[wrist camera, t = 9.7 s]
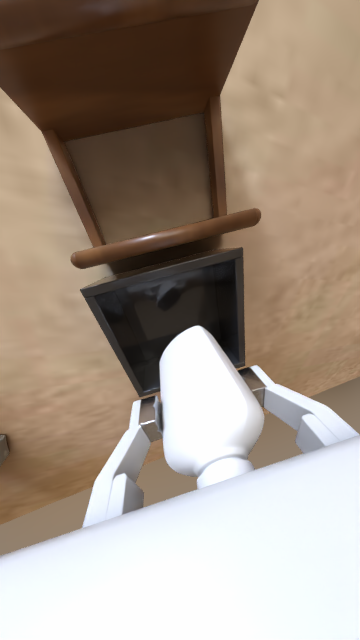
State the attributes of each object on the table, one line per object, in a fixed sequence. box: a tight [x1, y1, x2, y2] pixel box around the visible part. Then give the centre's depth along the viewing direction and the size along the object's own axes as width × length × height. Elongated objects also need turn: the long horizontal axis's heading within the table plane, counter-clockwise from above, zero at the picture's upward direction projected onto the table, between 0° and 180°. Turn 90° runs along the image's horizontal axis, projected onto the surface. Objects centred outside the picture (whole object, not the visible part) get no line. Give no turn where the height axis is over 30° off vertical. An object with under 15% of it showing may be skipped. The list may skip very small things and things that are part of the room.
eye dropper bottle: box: [159, 326, 264, 489], centre depth 8 cm, size 4×6×12 cm
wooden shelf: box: [0, 0, 261, 269], centre depth 12 cm, size 11×15×7 cm
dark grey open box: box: [80, 247, 245, 397], centre depth 18 cm, size 15×15×7 cm
